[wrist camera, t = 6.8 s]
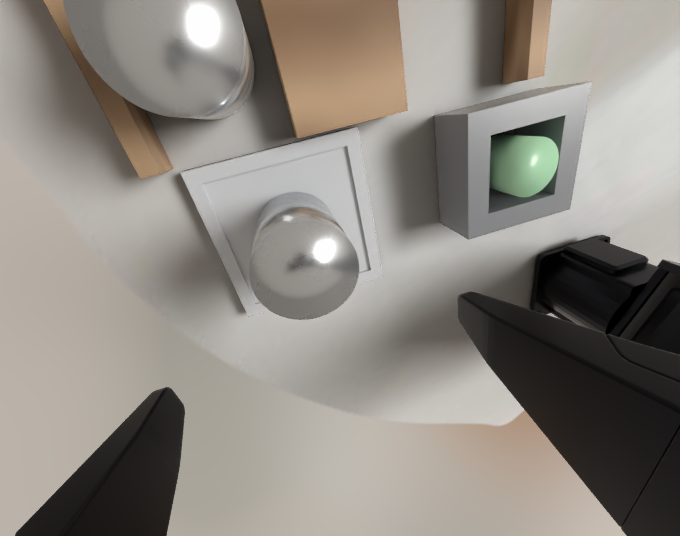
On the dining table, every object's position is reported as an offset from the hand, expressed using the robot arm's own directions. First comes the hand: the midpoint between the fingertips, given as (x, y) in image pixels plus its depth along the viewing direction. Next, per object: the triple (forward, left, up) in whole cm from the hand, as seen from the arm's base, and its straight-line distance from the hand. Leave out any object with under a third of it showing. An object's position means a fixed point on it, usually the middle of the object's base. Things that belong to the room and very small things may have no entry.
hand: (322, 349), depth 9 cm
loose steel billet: (0, 0, -11) cm, 11 cm away
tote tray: (0, 0, -12) cm, 12 cm away
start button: (+1, -13, -11) cm, 17 cm away
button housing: (+1, -13, -12) cm, 18 cm away
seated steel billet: (+9, +2, -12) cm, 15 cm away
